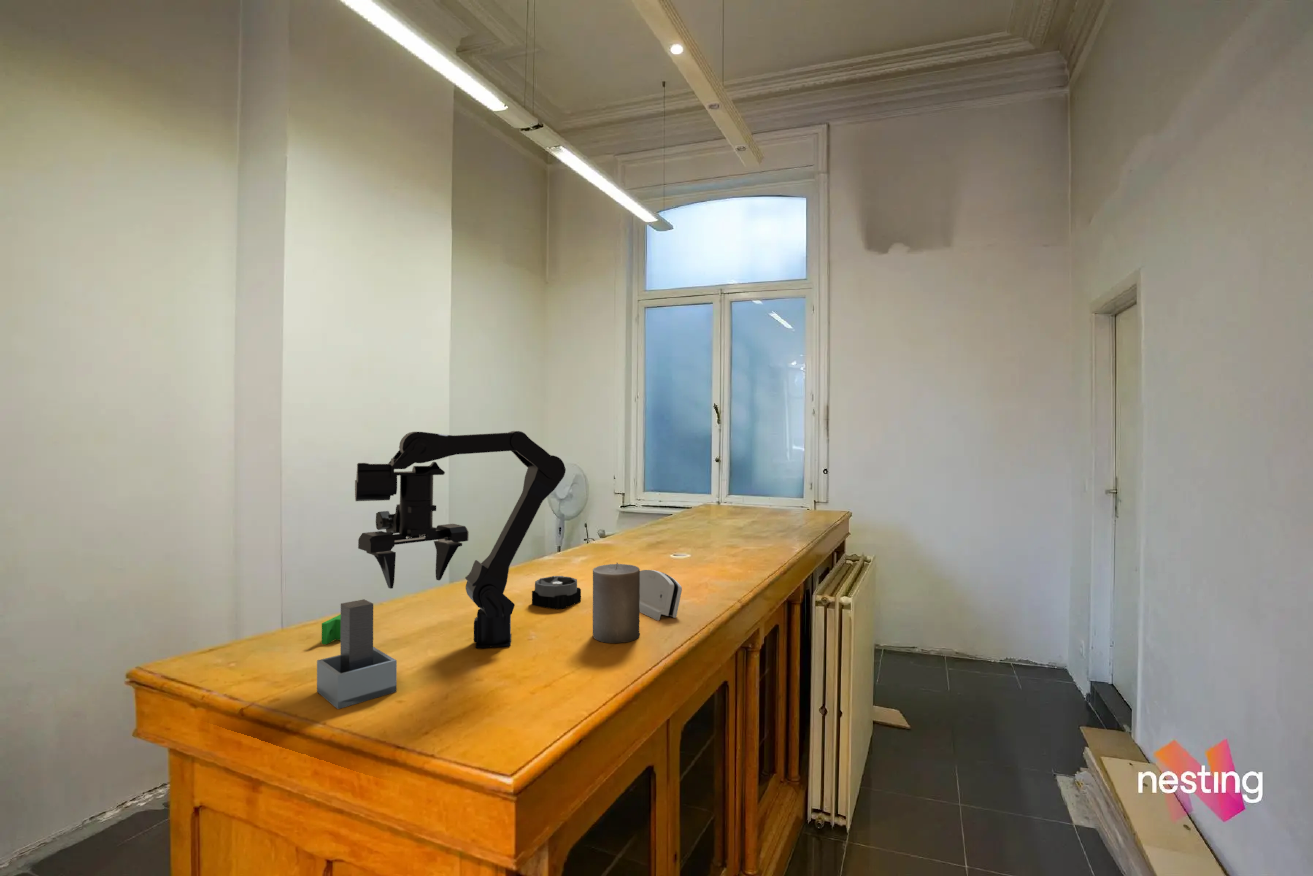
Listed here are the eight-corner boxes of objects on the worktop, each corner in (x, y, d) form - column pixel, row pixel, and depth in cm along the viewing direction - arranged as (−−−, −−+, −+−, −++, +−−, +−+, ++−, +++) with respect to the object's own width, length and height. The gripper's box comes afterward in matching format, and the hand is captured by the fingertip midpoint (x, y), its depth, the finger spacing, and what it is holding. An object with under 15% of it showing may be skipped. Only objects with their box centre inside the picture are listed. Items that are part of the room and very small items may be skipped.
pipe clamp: (338, 646, 121) (338, 624, 121) (321, 645, 121) (321, 623, 121) (368, 628, 131) (368, 608, 131) (353, 628, 132) (353, 607, 132)
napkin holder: (620, 603, 152) (633, 562, 154) (636, 606, 155) (648, 567, 156) (658, 620, 138) (671, 576, 140) (674, 624, 141) (687, 581, 142)
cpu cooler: (560, 587, 145) (526, 582, 150) (560, 612, 145) (526, 606, 150) (586, 578, 154) (552, 573, 159) (585, 601, 154) (552, 596, 159)
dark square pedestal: (366, 676, 103) (366, 597, 103) (379, 685, 100) (379, 603, 99) (334, 685, 99) (334, 603, 99) (346, 694, 96) (346, 610, 96)
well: (373, 676, 106) (373, 646, 106) (396, 691, 100) (396, 660, 100) (316, 691, 99) (317, 660, 99) (337, 709, 93) (337, 675, 93)
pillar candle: (649, 634, 129) (649, 561, 129) (618, 647, 121) (619, 569, 121) (612, 625, 135) (613, 555, 134) (581, 637, 127) (582, 563, 127)
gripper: (441, 493, 128) (440, 569, 128) (346, 499, 114) (344, 584, 115) (470, 497, 121) (469, 578, 121) (372, 504, 107) (371, 596, 107)
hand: (415, 584), depth 116 cm, fingers open, 9 cm apart
